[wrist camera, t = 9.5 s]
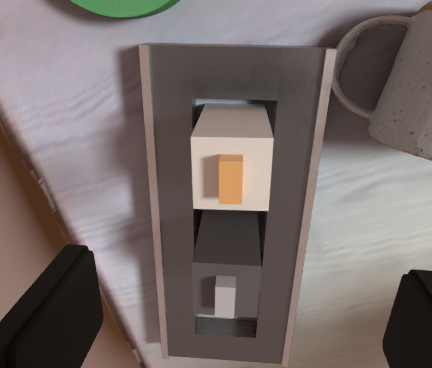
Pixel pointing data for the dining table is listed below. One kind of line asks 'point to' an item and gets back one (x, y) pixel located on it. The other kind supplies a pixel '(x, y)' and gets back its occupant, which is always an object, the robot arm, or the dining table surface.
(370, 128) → the ceramic mug
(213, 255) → the matte charcoal box
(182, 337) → the panel
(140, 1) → the tape roll
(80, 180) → the dining table surface
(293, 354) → the dining table surface
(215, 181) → the white block orange tab
